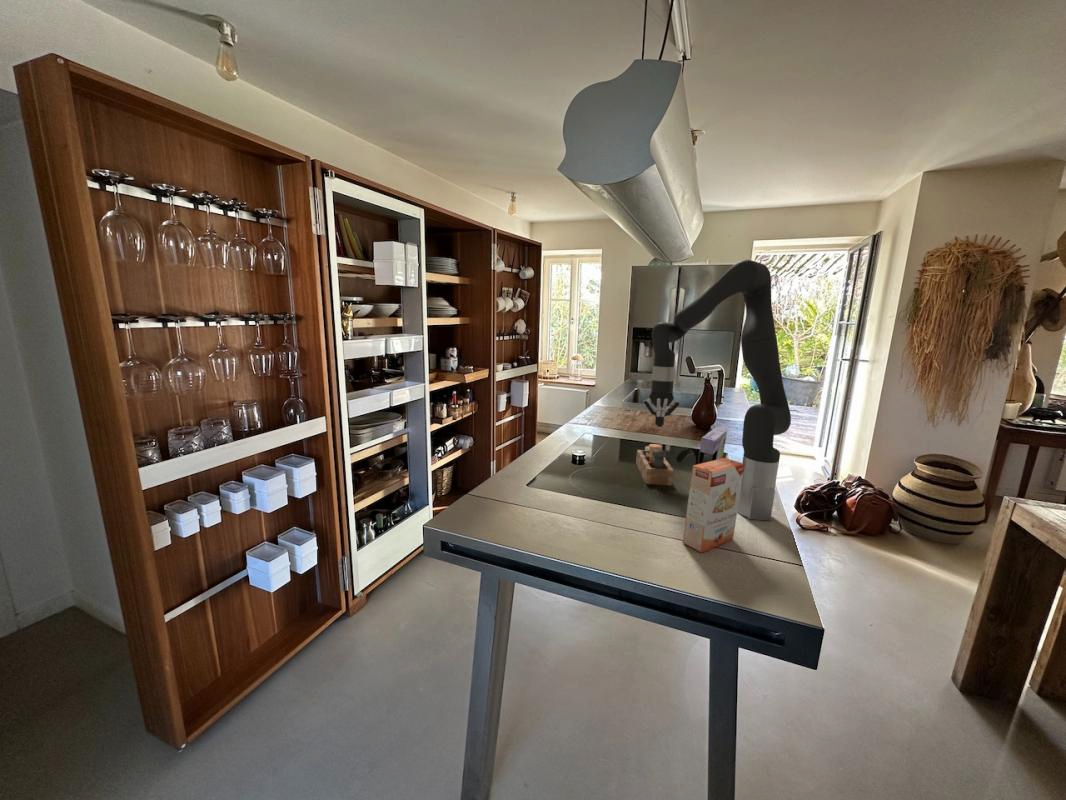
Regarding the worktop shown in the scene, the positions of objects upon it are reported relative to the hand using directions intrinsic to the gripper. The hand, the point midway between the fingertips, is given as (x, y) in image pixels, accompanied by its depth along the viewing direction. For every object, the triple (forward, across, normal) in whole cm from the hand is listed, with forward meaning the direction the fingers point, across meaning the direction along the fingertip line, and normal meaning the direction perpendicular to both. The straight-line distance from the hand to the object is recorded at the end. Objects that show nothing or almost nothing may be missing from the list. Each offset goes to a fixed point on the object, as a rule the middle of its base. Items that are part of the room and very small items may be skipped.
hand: (659, 426), depth 152 cm
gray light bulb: (+15, -1, -7) cm, 16 cm away
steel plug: (+17, -1, +7) cm, 19 cm away
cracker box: (+20, +5, -48) cm, 53 cm away
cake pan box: (+19, +18, -2) cm, 26 cm away
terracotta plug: (+15, -1, 0) cm, 15 cm away
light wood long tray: (+18, -1, 0) cm, 18 cm away
